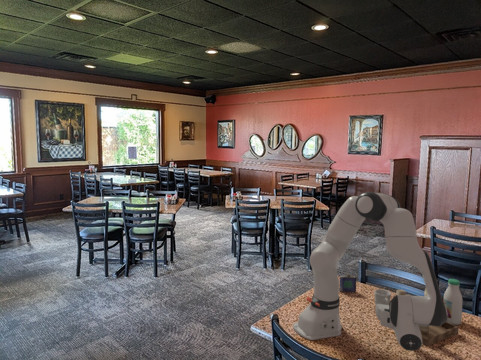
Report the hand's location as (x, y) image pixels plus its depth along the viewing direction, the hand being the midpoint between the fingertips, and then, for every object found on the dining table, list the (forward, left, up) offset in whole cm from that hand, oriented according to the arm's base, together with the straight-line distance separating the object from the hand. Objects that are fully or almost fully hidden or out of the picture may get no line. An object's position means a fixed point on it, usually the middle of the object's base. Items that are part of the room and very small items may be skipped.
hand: (399, 306), depth 148 cm
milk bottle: (+35, -2, -14) cm, 37 cm away
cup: (+17, +22, -15) cm, 31 cm away
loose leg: (-1, -1, -9) cm, 9 cm away
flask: (+16, +46, -15) cm, 51 cm away
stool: (+16, -2, -14) cm, 21 cm away
